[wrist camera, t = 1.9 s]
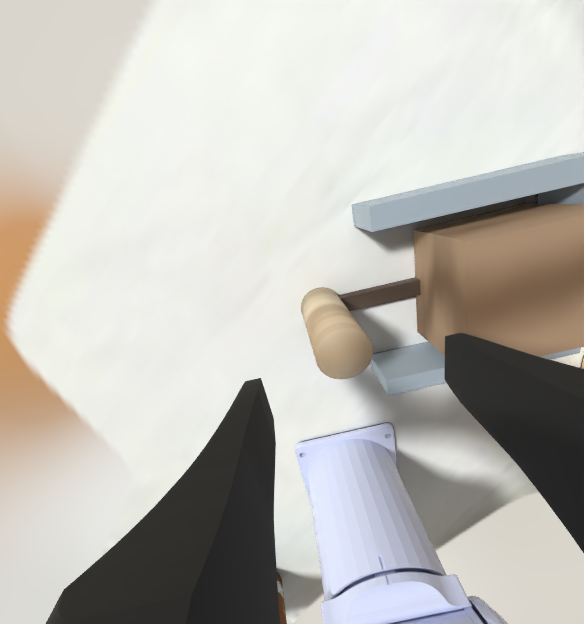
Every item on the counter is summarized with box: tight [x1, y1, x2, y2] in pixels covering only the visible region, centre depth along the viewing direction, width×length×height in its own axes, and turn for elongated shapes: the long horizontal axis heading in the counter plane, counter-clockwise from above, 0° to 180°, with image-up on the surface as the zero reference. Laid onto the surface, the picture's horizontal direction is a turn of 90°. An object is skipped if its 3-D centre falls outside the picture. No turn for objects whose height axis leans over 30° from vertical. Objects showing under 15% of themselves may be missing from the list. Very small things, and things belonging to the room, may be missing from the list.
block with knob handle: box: [301, 203, 584, 379], centre depth 15 cm, size 7×15×6 cm, turn 102°
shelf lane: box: [352, 152, 584, 396], centre depth 16 cm, size 11×12×3 cm
